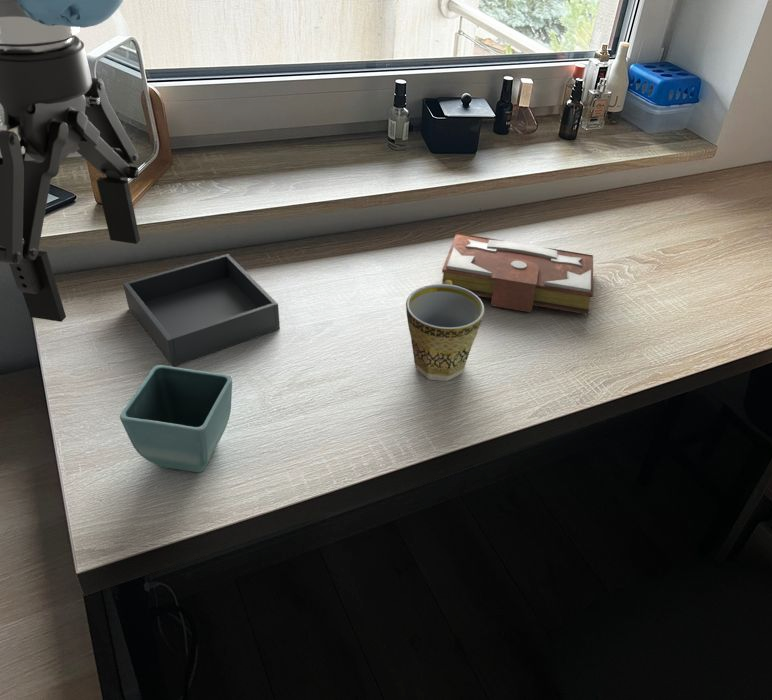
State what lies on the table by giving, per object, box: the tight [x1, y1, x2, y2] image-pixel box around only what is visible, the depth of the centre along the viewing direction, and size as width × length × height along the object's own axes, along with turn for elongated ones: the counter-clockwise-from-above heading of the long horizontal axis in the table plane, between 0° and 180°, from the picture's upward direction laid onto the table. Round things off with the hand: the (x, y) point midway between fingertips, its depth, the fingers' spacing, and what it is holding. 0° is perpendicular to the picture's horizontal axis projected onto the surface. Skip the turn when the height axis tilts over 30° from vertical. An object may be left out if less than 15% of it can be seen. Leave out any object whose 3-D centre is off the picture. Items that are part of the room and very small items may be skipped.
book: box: [441, 232, 594, 315], centre depth 114 cm, size 23×16×5 cm
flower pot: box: [119, 364, 233, 473], centre depth 79 cm, size 9×9×9 cm
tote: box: [122, 253, 281, 367], centre depth 100 cm, size 15×15×4 cm
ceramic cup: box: [405, 280, 485, 382], centre depth 96 cm, size 13×10×10 cm
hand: (90, 276), depth 68 cm, fingers open, 13 cm apart
